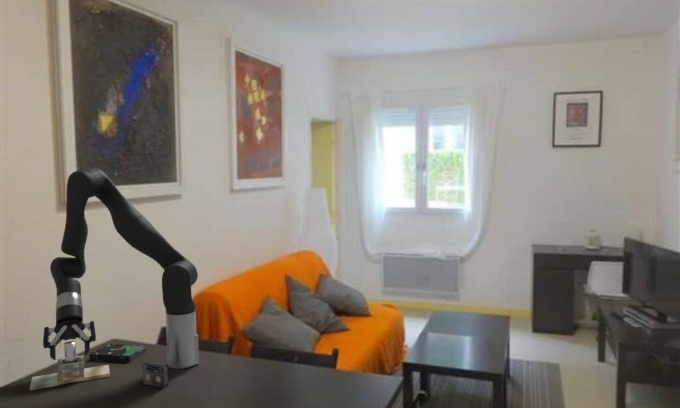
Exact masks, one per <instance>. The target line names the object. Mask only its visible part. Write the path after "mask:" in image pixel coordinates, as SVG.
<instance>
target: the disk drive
mask: <svg viewBox="0 0 680 408" xmlns="http://www.w3.org/2000/svg"><path fill="white" fill-rule="evenodd" d="M146 349H147V348H146V346H145V345H139V344H138V345H136V344H115V343H107V344H105V345H103V346H101V347H99V348H97V349H96V351H92V352H89V353H88V354H89V358H88V359H89V361H95V362H97V361H98V362H99V361H100V362H117V363H118V362H119V363H131V362H133V361H134V360H136V359H138V358H139V357H140V356H141V355H143V354H145V353H146V351H147V350H146Z"/></svg>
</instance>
